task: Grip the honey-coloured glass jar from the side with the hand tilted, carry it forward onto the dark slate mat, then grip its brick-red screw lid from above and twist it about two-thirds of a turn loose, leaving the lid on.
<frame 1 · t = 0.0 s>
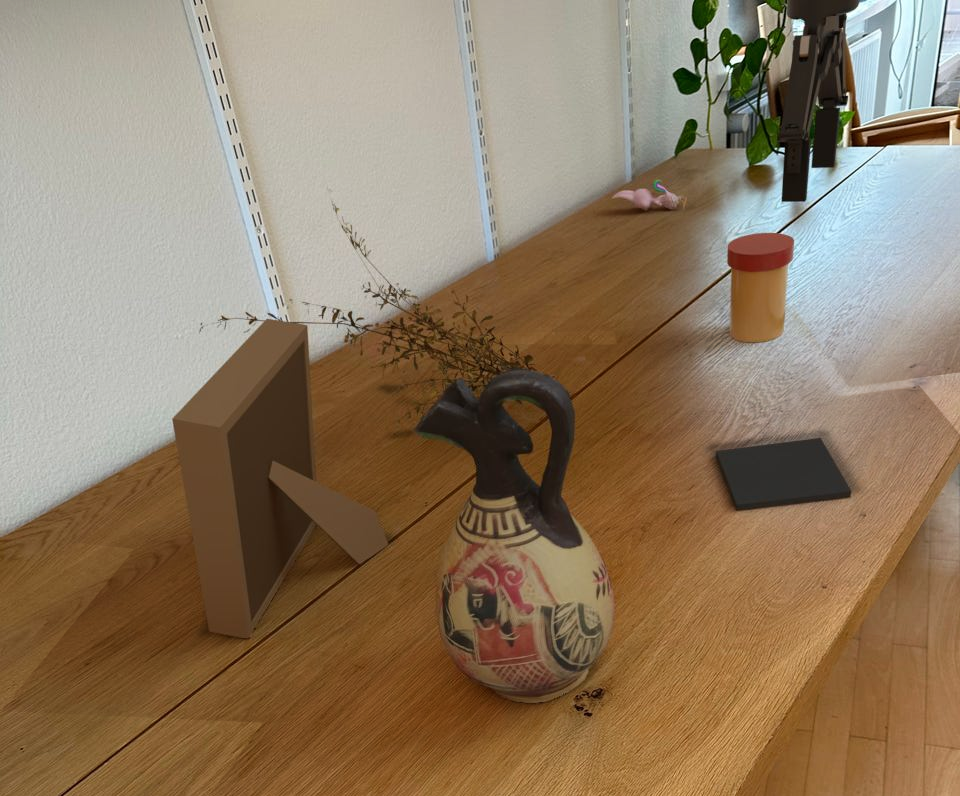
hand: (809, 183, 110), 22 cm above the table, tool pointing down, fingers open, 13 cm apart
pink toy figure: (649, 210, 183), on the table
ceramic jug: (542, 676, 82), on the table
jar: (756, 331, 131), on the table
lid: (760, 246, 124), point 12 cm above the table, screwed on, not yet turned
dried plant: (418, 438, 122), on the table
photo frame: (313, 577, 100), on the table
mat: (779, 475, 101), on the table
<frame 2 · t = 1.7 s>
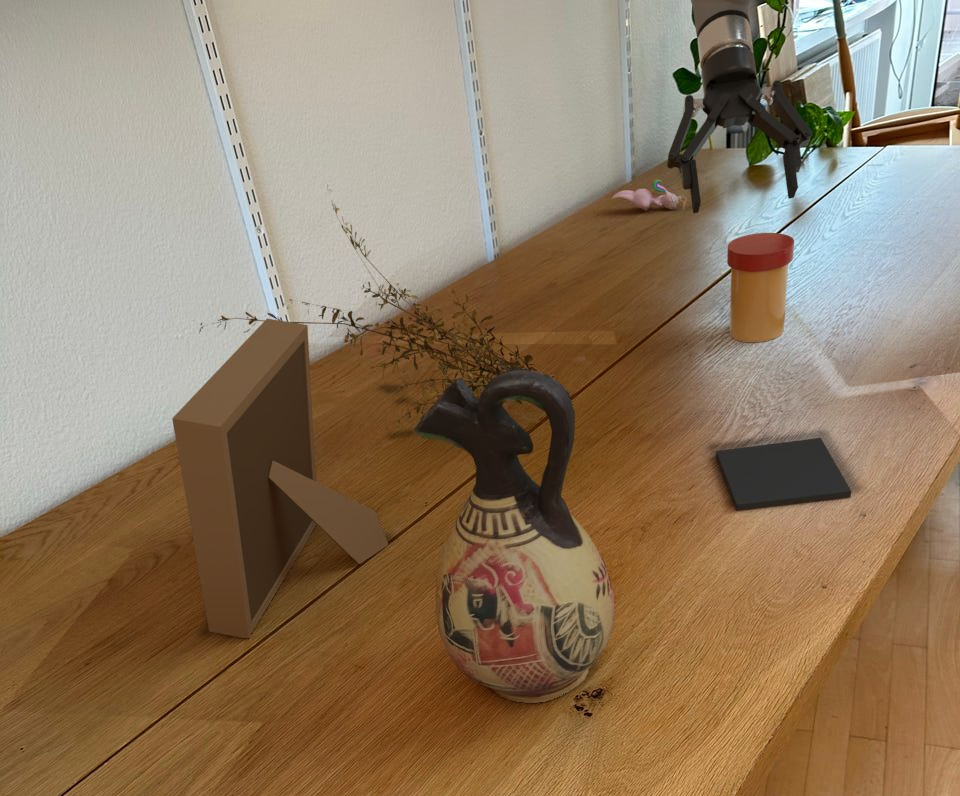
hand: (744, 200, 130), 15 cm above the table, tool tilted 45°, fingers open, 13 cm apart
nothing on the table moved.
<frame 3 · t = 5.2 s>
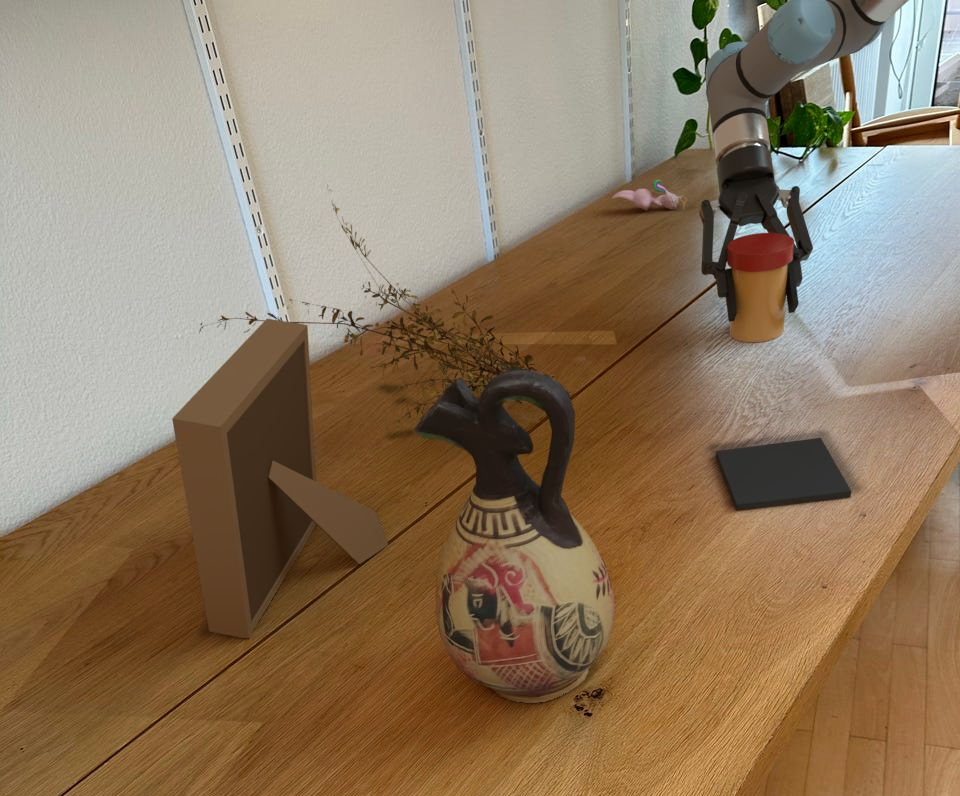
hand: (763, 312, 126), 4 cm above the table, tool tilted 45°, fingers closed on jar, 8 cm apart
jar: (756, 331, 131), on the table, touching gripper
everything else where it was.
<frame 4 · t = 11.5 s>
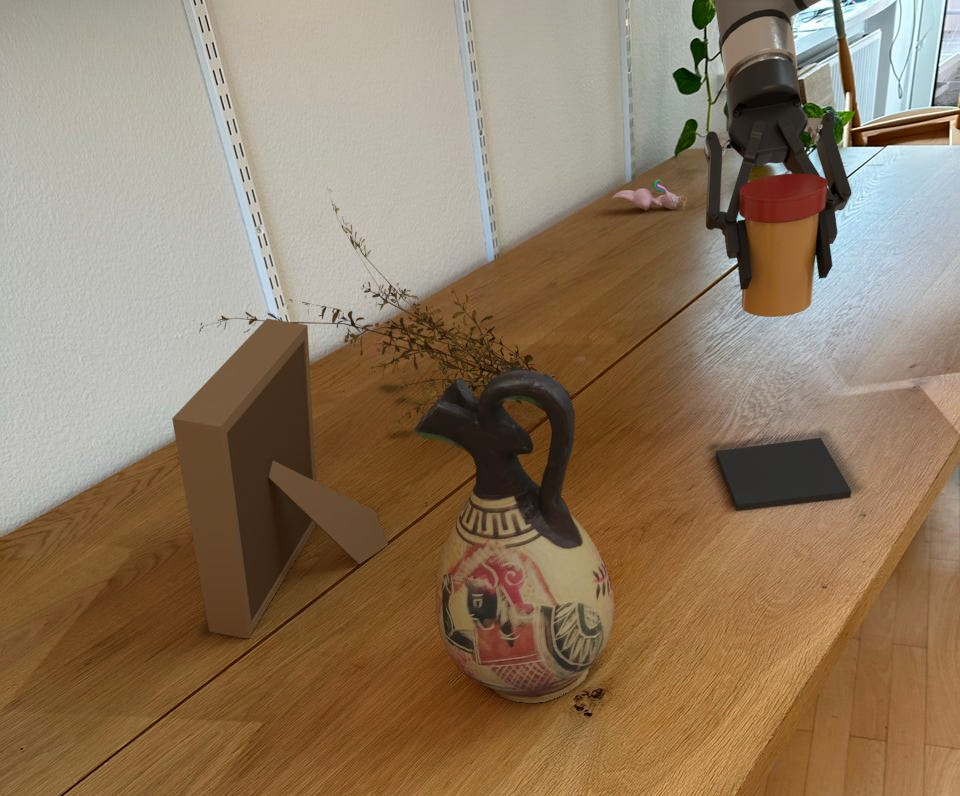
hand: (785, 277, 97), 18 cm above the table, tool tilted 45°, fingers closed on jar, 8 cm apart
jar: (776, 303, 102), point 14 cm above the table, touching gripper
lid: (782, 189, 94), point 27 cm above the table, screwed on, not yet turned
everything else where it was.
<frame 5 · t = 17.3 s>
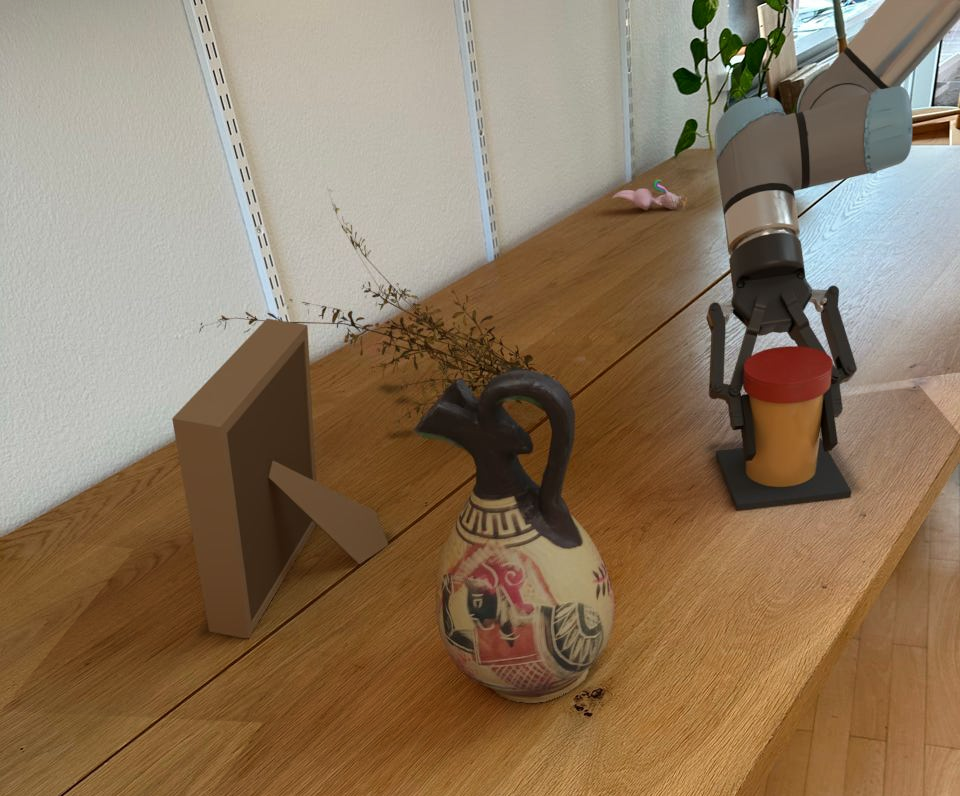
hand: (790, 452, 96), 5 cm above the table, tool tilted 45°, fingers closed on jar, 8 cm apart
jar: (780, 469, 101), point 1 cm above the table, touching gripper, mat
lid: (787, 367, 93), point 13 cm above the table, screwed on, not yet turned
everything else where it was.
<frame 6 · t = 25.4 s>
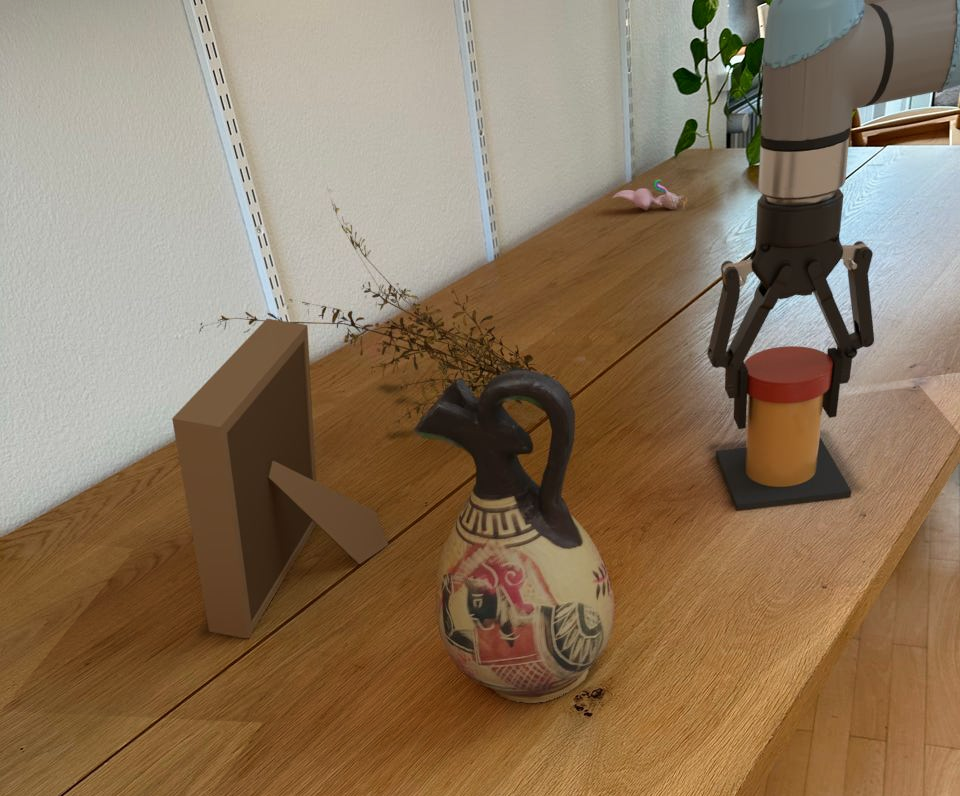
hand: (784, 417, 97), 7 cm above the table, tool pointing down, fingers closed on lid, 9 cm apart
jar: (780, 469, 101), point 1 cm above the table, touching mat
lid: (787, 367, 93), point 13 cm above the table, screwed on, not yet turned, touching gripper
everything else where it was.
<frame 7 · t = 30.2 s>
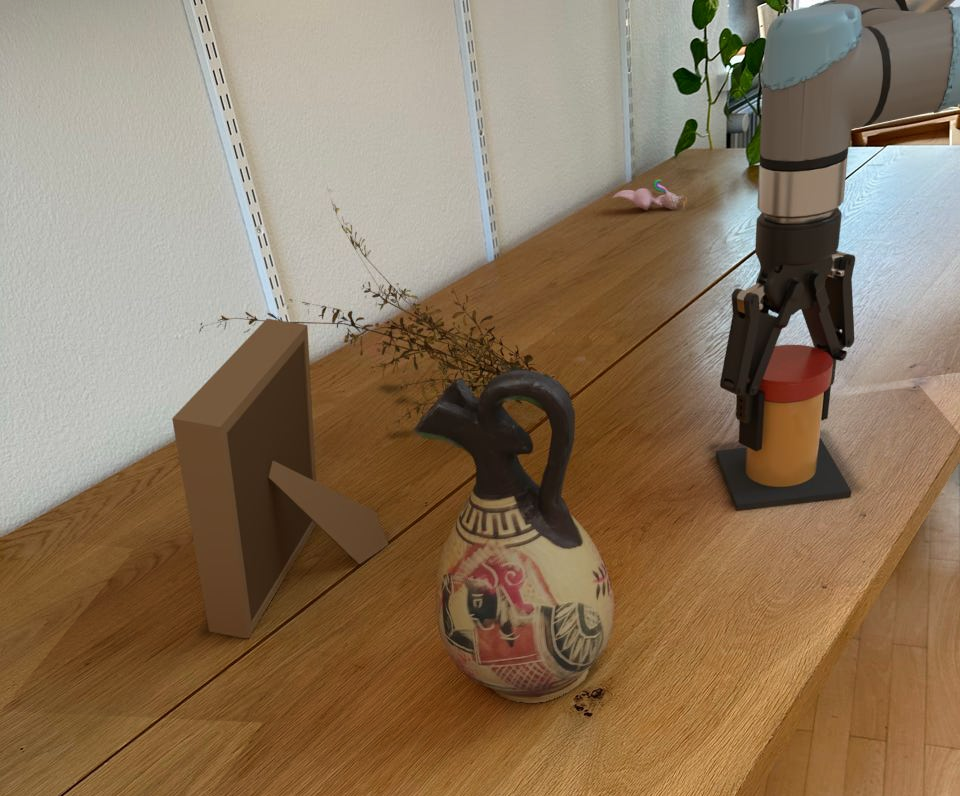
hand: (783, 430, 98), 6 cm above the table, tool pointing down, fingers closed on lid, 9 cm apart
lid: (787, 365, 93), point 13 cm above the table, turned 120° so far, risen 0.2 cm, still on its thread, touching gripper
everything else where it was.
when the fingers open (6 cm above the table, at t = 32.5 s): lid stays where it is, point 13 cm above the table.
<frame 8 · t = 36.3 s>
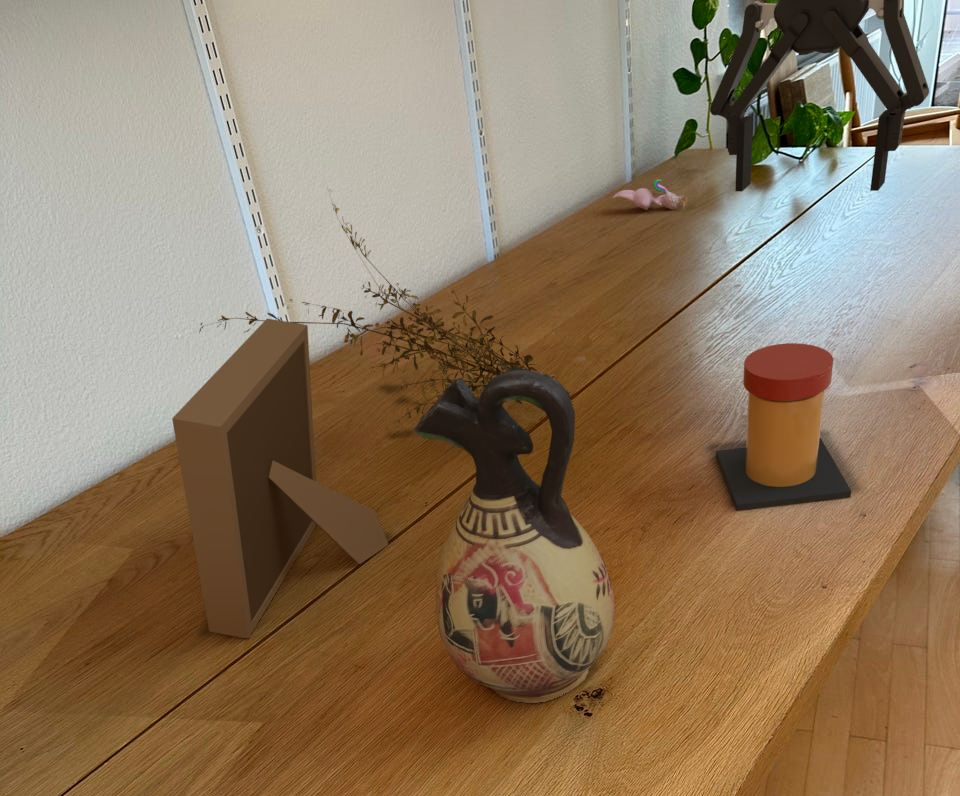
hand: (807, 187, 93), 27 cm above the table, tool pointing down, fingers open, 13 cm apart
lid: (787, 364, 93), point 13 cm above the table, turned 239° so far, risen 0.3 cm, still on its thread
everything else where it was.
at the end: lid turned 0.66 turns (still on its thread); lid is still on its thread (0.66 turns); jar inside the target area on the mat (0.1 cm from its centre), point 0.8 cm above the mat's base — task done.
